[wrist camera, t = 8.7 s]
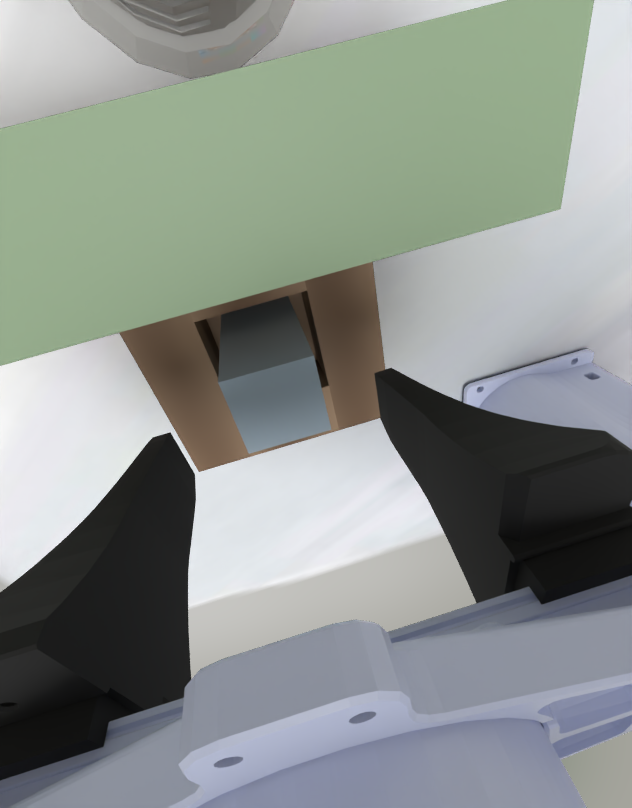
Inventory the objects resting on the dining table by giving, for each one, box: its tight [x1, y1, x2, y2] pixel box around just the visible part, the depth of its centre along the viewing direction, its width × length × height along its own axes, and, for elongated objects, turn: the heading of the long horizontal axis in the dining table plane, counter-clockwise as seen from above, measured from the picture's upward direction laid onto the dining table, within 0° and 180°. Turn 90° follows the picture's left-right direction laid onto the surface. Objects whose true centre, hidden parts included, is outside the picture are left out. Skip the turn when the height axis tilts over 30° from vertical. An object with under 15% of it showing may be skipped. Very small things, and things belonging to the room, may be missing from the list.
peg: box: [218, 296, 331, 454], centre depth 17 cm, size 4×4×7 cm
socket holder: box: [0, 0, 594, 472], centre depth 15 cm, size 18×14×10 cm
